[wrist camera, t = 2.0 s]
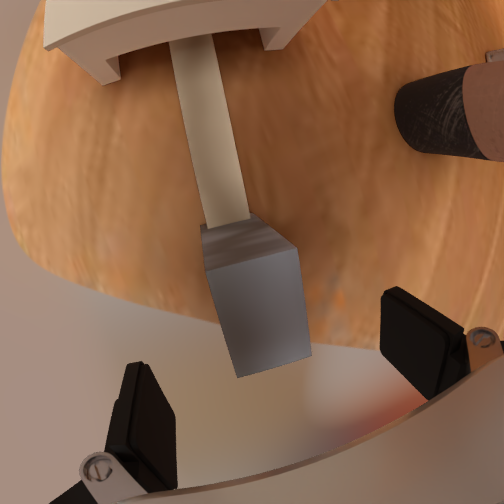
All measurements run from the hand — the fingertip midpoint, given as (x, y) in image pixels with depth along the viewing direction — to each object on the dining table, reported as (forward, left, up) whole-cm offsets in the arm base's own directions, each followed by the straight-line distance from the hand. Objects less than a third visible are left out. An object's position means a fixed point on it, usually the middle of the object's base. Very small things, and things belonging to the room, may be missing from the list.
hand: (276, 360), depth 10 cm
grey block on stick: (0, -8, -13) cm, 15 cm away
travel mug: (-20, -9, -13) cm, 26 cm away
